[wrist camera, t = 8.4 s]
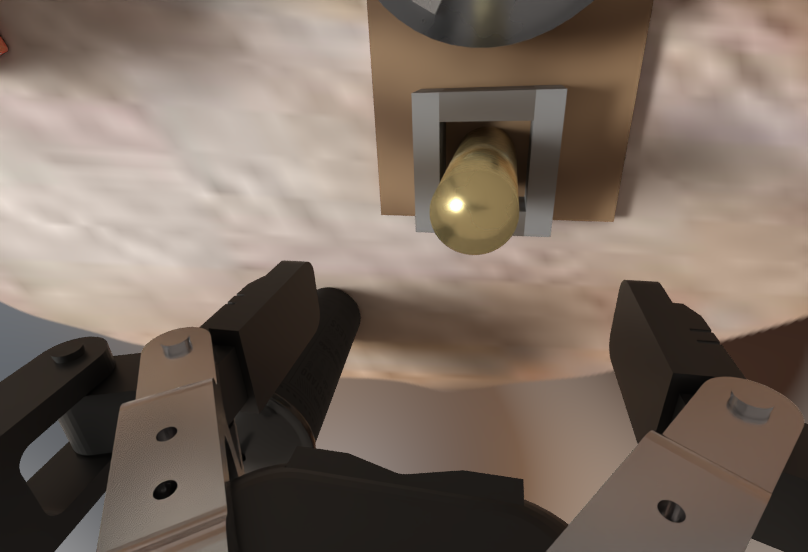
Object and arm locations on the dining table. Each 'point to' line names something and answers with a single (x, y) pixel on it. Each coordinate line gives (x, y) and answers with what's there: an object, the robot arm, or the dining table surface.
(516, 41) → the handwheel
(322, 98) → the dining table surface
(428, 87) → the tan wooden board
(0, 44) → the cracker box
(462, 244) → the gold metallic cylinder
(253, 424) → the dark tapered cylinder
